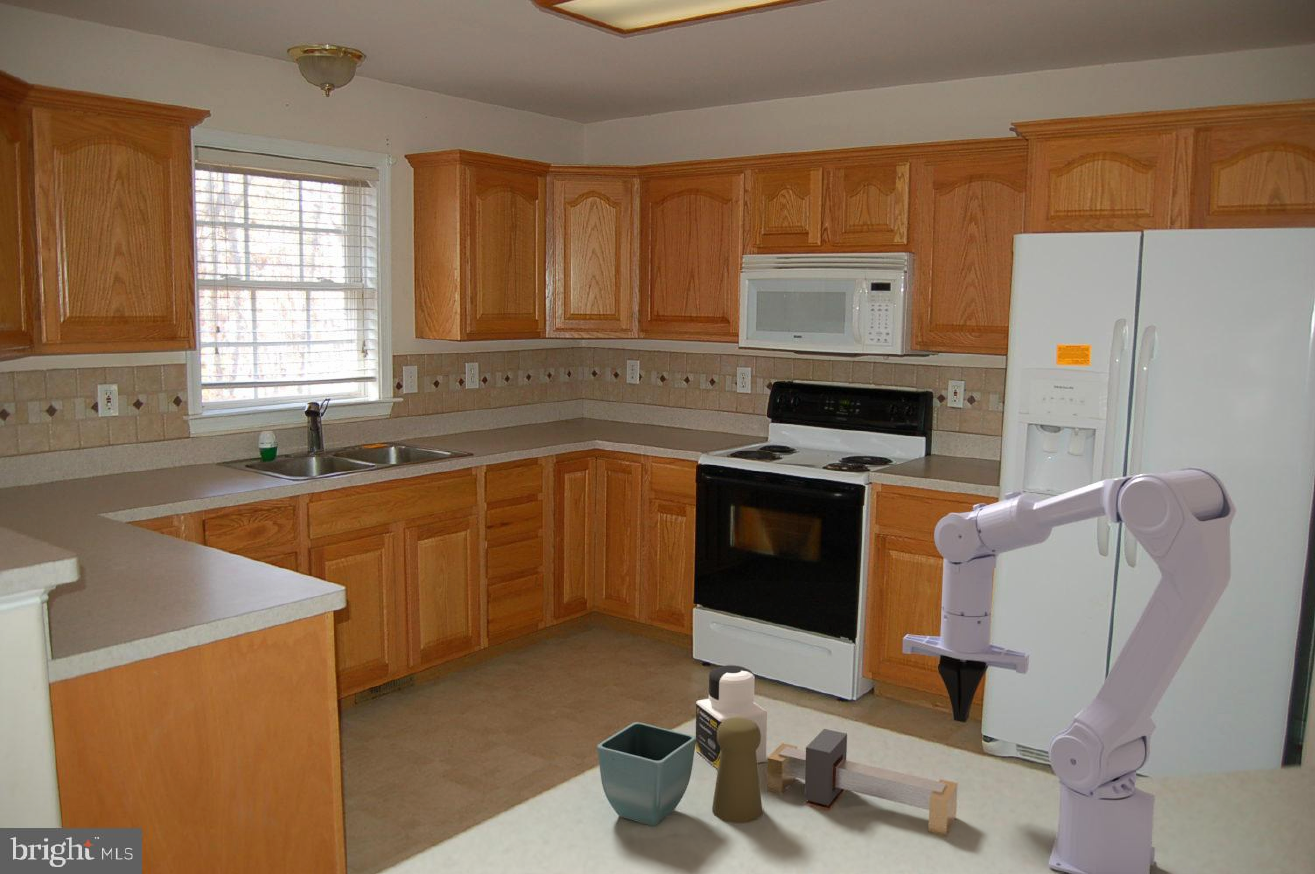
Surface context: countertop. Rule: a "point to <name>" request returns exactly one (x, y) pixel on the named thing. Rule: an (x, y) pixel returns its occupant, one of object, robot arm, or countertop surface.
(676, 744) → the flower pot
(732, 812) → the brown pawn figure
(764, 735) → the medicine bottle
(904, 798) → the rail
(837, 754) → the collar
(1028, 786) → the countertop surface
